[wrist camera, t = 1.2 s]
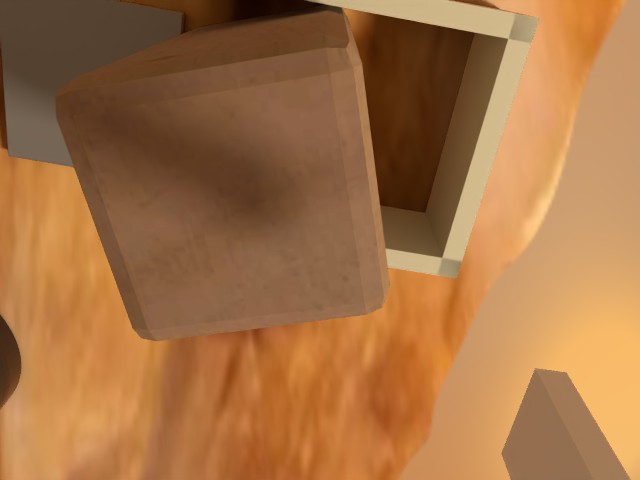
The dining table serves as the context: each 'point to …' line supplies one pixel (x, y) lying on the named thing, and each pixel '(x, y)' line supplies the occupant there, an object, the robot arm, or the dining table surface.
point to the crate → (457, 130)
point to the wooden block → (233, 176)
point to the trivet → (65, 59)
